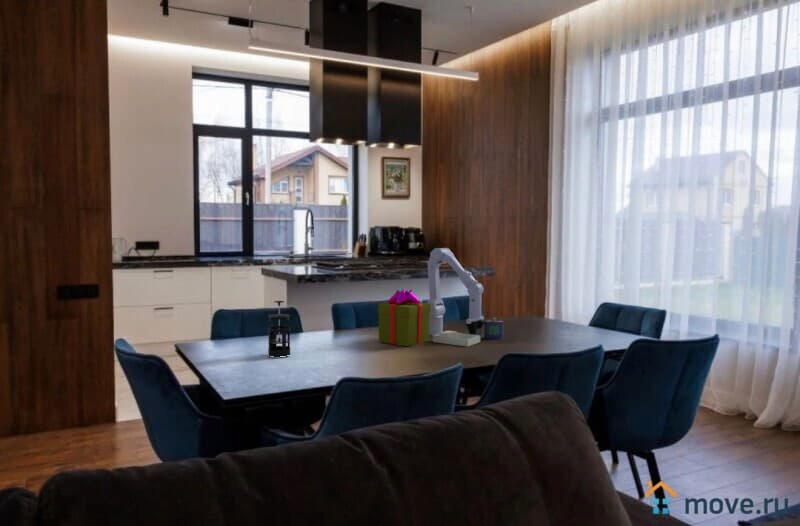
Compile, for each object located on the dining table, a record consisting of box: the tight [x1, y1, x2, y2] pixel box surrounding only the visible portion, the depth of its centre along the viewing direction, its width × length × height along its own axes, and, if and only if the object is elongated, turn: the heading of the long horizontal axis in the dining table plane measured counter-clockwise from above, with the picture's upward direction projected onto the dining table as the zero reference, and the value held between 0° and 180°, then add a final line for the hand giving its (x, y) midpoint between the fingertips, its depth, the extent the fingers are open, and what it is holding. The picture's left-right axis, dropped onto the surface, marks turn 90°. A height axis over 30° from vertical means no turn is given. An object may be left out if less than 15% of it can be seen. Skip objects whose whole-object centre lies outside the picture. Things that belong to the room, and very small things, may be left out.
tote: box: [432, 332, 482, 347], centre depth 270 cm, size 18×13×4 cm
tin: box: [475, 327, 483, 340], centre depth 277 cm, size 5×5×6 cm
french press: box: [267, 300, 291, 357], centre depth 239 cm, size 12×9×23 cm
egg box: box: [439, 330, 458, 338], centre depth 272 cm, size 5×8×4 cm, turn 146°
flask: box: [483, 317, 504, 340], centre depth 280 cm, size 9×3×11 cm, turn 88°
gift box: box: [377, 288, 430, 347], centre depth 270 cm, size 21×21×25 cm
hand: (474, 336), depth 277 cm, fingers open, 5 cm apart
